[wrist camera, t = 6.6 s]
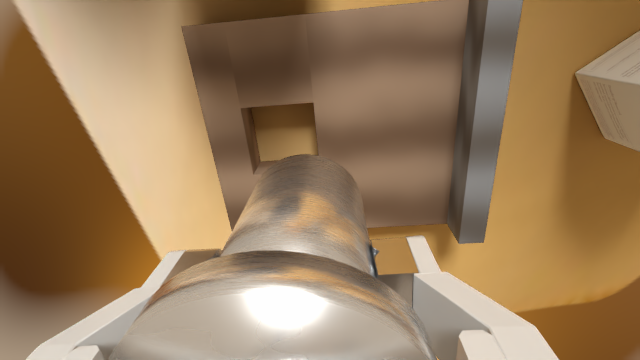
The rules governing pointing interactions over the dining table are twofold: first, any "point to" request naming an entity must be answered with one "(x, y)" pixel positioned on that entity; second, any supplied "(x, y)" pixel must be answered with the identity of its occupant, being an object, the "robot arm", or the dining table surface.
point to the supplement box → (615, 92)
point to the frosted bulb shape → (284, 283)
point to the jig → (370, 102)
